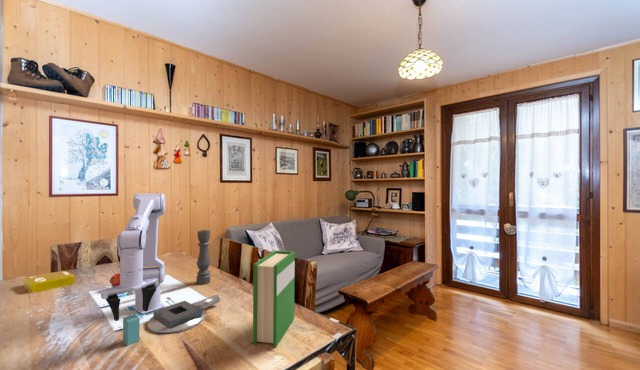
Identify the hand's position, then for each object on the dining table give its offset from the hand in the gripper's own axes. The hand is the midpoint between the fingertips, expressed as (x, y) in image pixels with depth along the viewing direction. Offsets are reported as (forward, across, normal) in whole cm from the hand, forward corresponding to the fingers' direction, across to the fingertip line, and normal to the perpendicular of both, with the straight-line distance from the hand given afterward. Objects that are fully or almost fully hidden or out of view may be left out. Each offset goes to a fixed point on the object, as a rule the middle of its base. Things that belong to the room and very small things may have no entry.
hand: (131, 314), depth 84 cm
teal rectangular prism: (+8, 0, 0) cm, 8 cm away
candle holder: (+8, +41, +30) cm, 51 cm away
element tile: (+8, -5, +83) cm, 84 cm away
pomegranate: (+8, +13, +52) cm, 54 cm away
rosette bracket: (+8, +18, +2) cm, 20 cm away
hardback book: (+8, +31, -30) cm, 44 cm away
